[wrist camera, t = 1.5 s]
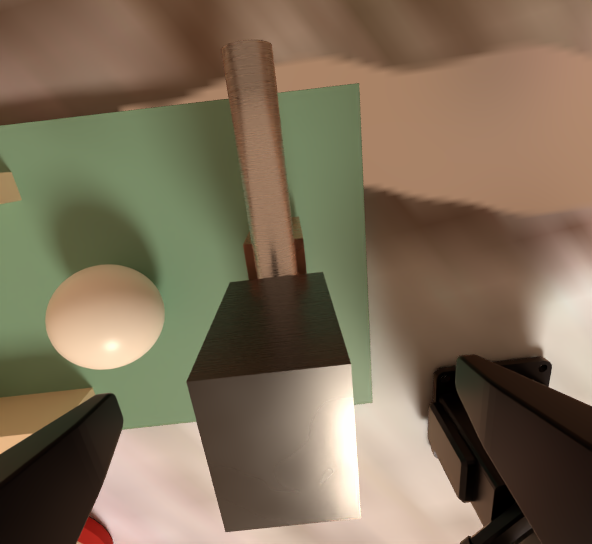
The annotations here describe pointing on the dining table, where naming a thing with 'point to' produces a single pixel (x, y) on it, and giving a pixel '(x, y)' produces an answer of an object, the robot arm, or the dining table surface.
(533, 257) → the dining table surface
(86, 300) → the ball
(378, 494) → the dining table surface
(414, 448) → the dining table surface
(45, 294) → the pitch
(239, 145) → the kicker rod
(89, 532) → the canned food
